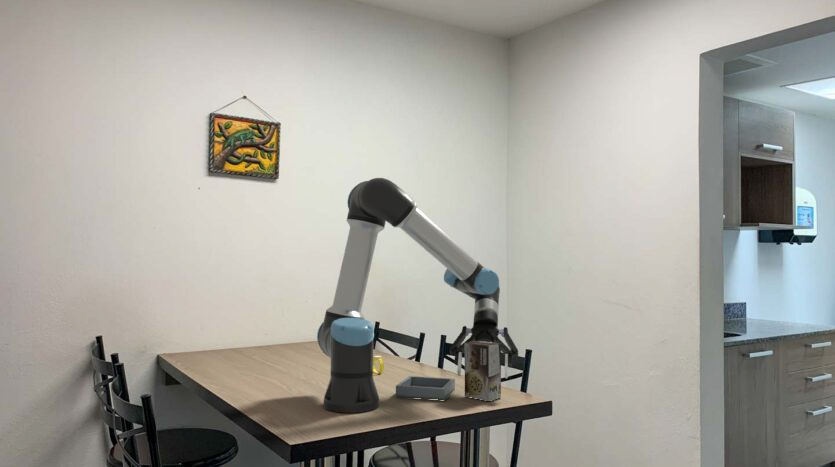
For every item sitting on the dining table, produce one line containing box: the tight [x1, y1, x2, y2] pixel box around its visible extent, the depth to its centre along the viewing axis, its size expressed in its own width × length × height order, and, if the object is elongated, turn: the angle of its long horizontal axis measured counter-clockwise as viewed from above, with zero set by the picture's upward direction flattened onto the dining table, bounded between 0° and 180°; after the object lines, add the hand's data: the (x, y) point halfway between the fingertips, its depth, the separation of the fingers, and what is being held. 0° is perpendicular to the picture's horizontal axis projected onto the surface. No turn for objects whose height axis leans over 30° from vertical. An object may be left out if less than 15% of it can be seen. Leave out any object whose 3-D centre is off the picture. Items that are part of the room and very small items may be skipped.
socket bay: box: [395, 375, 456, 401], centre depth 183 cm, size 14×14×4 cm
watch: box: [373, 355, 384, 375], centre depth 214 cm, size 6×3×6 cm, turn 37°
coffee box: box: [463, 341, 502, 402], centre depth 179 cm, size 9×6×16 cm
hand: (482, 374), depth 177 cm, fingers open, 13 cm apart
